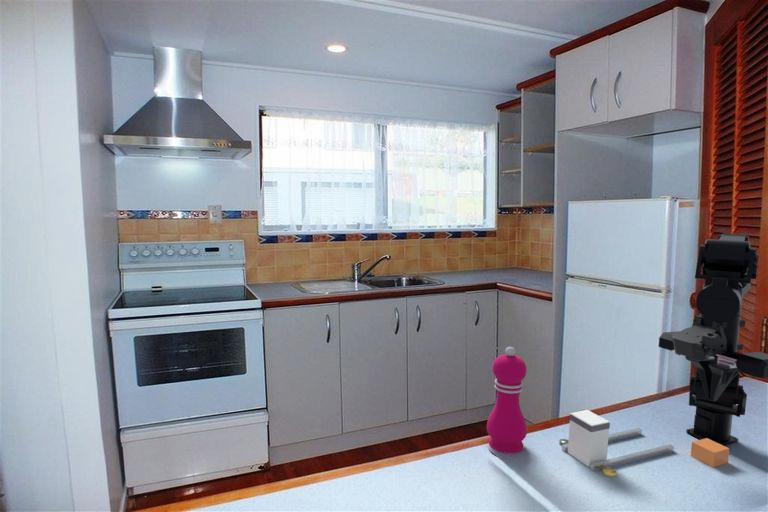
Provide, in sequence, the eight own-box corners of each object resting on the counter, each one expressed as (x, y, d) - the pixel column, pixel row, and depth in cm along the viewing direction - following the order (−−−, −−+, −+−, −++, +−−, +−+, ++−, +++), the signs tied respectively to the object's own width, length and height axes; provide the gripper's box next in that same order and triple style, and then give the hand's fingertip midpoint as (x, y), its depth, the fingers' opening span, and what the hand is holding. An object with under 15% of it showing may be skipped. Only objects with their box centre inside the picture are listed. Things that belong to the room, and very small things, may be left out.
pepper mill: (527, 463, 87) (533, 354, 85) (485, 458, 89) (490, 351, 86) (524, 443, 94) (529, 342, 92) (485, 439, 96) (489, 339, 93)
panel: (626, 430, 100) (627, 420, 100) (691, 466, 87) (692, 454, 87) (547, 448, 93) (547, 437, 92) (605, 489, 80) (606, 477, 80)
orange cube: (704, 458, 90) (706, 438, 90) (727, 470, 86) (729, 448, 86) (689, 462, 89) (691, 441, 88) (712, 474, 85) (714, 452, 84)
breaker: (585, 448, 90) (587, 409, 89) (606, 462, 86) (610, 421, 85) (567, 452, 89) (569, 413, 88) (588, 467, 84) (591, 425, 83)
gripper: (639, 303, 91) (633, 386, 92) (744, 327, 73) (734, 428, 75) (683, 302, 94) (676, 381, 96) (792, 323, 77) (782, 420, 78)
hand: (711, 400), depth 86 cm, fingers closed
